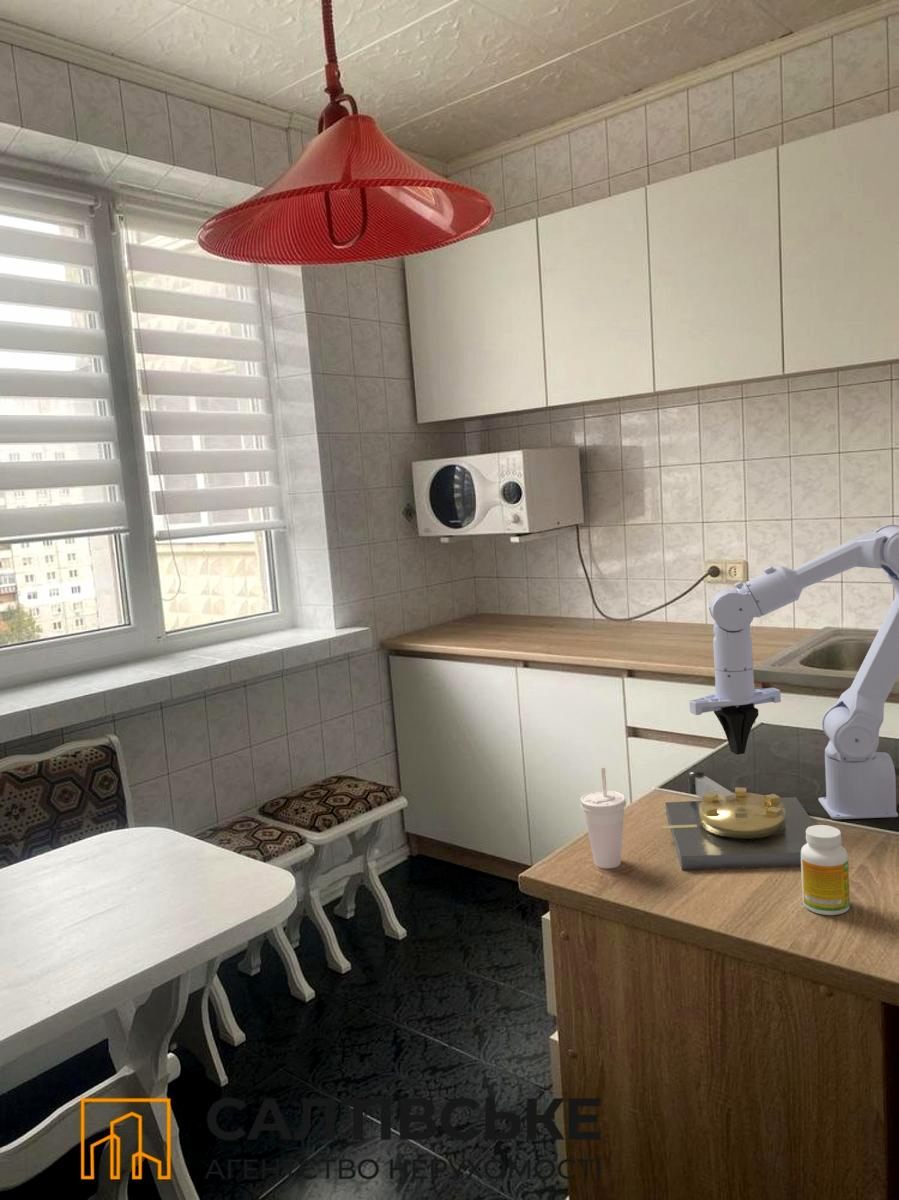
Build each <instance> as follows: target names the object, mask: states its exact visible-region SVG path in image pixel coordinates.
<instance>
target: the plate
mask: <svg viewBox="0 0 899 1200" xmlns="http://www.w3.org/2000/svg"><path fill="white" fill-rule="evenodd" d="M702 801H703V800H695V801H694V800H692V801H691V800H690V801H670V802H669V801H665V816H666V818H667V822H668V824H667V825H661V827H662V830H670V833H671V836H672V841H673V844H674V847H675V850H676V853H677V858H678V861H679V865H680V867H681V870H682V871H690V870H691V871H694V870H697V869H698V870H724V869H723V868H731V869H747V868H746V867H749V868H748V869H759V868H760V867H761V868H762V867H765V868H791V866H792V867H793V866H794V867H793V868H795V867H796V866H798V867H801V849H802V847H803V846H804V845H805V844H807V841H806V829H807V828H808V827H810V826H814V825H816V824H815V823H814V821H813V820H812V818H811V817H810V815H809V814H808V813H807V811H806V810H805V808H804V806H803V805H802V803H801V802H800V801H799V800H798V798H797V797H796V796H793V797H792V796H791V797H787V796H786V797H780V801H781V803H782V804H783V805H784V807H785V821H786V825H785V827H784V828H783V829H782V830H781V831H780V832H778V833H776V834H773V835H770V836H766V837H760V838H733V837H726V836H722V835H718V834H715V833H712V832H710V831H708V830H706V829H705V828H704V827H702V825H701V824H700V817H699V804H700V803H701V802H702ZM742 867H744V868H742ZM751 867H752V868H751ZM755 867H756V868H755ZM758 867H759V868H758ZM720 868H722V869H720ZM762 869H763V868H762Z"/></svg>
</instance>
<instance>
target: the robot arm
mask: <svg viewBox="0 0 899 1200" xmlns="http://www.w3.org/2000/svg"><path fill="white" fill-rule="evenodd" d="M856 567H857V568H860V567H861V568H870V569H882V570H883V571H884V572H885V573H886V574H887V576H888V579H889V580H890V582H891V584H892V586H893V589H894V591H895V593H896V595H895V597H894V599H893V600H892V603H891V605H890V607H889V609H888V611H887V613H886V615H885V617H884V619H883V621H882V623H881V625H880V627H879V629H878V631H877V633H876V635H875V637H874V639H873V641H872V643H871V645H870V647H869V649H868V651H867V653H866V654H865V655H866V656H865V657H864V659H863V662H862V663H861V664H860V667H859V669H858V671H857V673H856V676H855V677H854V679H853V681H852V683H851V685H850V687H848V688H847V689H846V690H844V692H842V693H841V694H840V696H839V698H838V700H837V702H836V703H835V704H834V705H832V706H830V707H829V708H828V709H827V710H826V711H825V713H824V714H823V716H822V720H821V727H822V731H823V733H824V735H825V736H826V738H828V739H829V741H828V744H827V746H826V747H825V748H824V766H825V767H824V768H825V792H826V794H825V795H826V796H825V797H818V802H819V803H820V805H821V806H822V807H823V809H824V810H825V811H826V813H827V814H828V815H829V816H830V818H831V819H832V820H850V819H851V820H855V819H875V818H876V819H877V818H878V819H879V818H897V817H899V813H898V812H897V783H896V782H897V781H896V769H895V765H894V761H893V759H892V757H891V755H890V753H888V752H884V751H883V752H881V751H880V752H879V751H877V749H878V747H879V745H880V744H879V743H880V729H881V727H882V724H883V723H884V716H885V715H884V714H885V713H884V711H885V703H886V700H887V699H888V697H889V695H890V694H891V691H892V689H893V687H894V685H895V683H896V681H897V679H898V677H899V525H897V524H885V525H884V526H881V527H879V528H878V529H876V530H875V531H874V530H870V531H868V532H864V533H862V534H860V535H857V536H856V537H853V538H851V539H849V540H848V541H845V542H843V543H841V544H840V545H837V546H836V547H834V548H831V549H830V550H828V551H825V552H824V553H822V554H820V555H818V556H816V557H814V558H812V559H810V560H808V561H807V562H804V563H803V564H801V565H799V566H796V567H794V568H793V569H792V568H788V567H786V566H783V565H779V566H777V567H775V568H774V567H773V566H772V565H769V566H767V567H765V568H764V569H763V571H764V573H762V574H761V575H758V576H755V577H754V578H751V579H748V580H747V581H745V582H741V581H737V582H736V583H734V586H735V589H730V588H727V589H723V590H720V591H719V592H717V593H716V594H714V597H712V600H711V603H710V606H709V607H708V610H709V613H710V616H711V617H712V619H713V620H714V622H713V629H712V632H713V635H714V637H713V639H712V644H713V645H712V647H713V663H714V665H713V666H714V667H713V668H714V683H715V684H714V685H715V693H712V694H708V695H706V696H702V697H699V698H696V699H691V700H689V701H688V703H689V713H691V714H693V715H695V716H698V715H702V714H703V713H711V712H713V713H714V714H715V716H716V717H717V720H718V722H719V723H720V726H721V727H722V729H723V731H724V734H725V736H726V739H727V742H728V746H729V750H730V753H733V754H735V755H743V754H746V748H747V743H748V740H749V737H750V736H749V735H750V733H751V730H752V727H753V726H754V723H755V722H756V720H757V719H758V717H759V708H756V707H755V705H762V704H767V703H781V701H782V700H781V699H782V698H781V690H780V689H778V688H775V687H768V688H755V680H754V661H753V660H754V658H753V655H754V653H753V639H752V637H751V624H752V623H753V620H754V618H761V617H763V616H766V615H768V614H770V613H772V612H775V611H777V610H778V609H781V608H783V607H786V606H787V605H790V604H792V603H794V602H797V601H798V600H799V599H800V596H801V594H802V592H803V590H804V589H805V588H807V587H810V586H812V585H814V584H817V583H819V582H821V581H823V580H826V579H829V578H831V577H834V576H836V575H838V574H841V573H845V572H846V571H848V570H851V569H853V568H856Z"/></svg>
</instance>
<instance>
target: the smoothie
mask: <svg viewBox="0 0 899 1200" xmlns="http://www.w3.org/2000/svg"><path fill="white" fill-rule="evenodd" d="M600 769H601V770H600V771H601V785H602V790H595V791H590V792H587V793H585V794H583V795H582V796H581V797H580V808H581V809H583V812H584V813H583V814H584V819H585V823H586V827H587V832H588V838H589V843H590V848H591V852H592V857H593V862H594V863H593V864H594V865H595V867H597V868H601V869H606V870H607V869H615V868H618V867H619V866H620V865H621V863H622V850H623V849H622V848H623V847H622V844H623V833H624V832H623V831H624V829H623V827H624V817H625V816H624V813H625V811H624V810H625V808H626V805H627V801H626V800H627V799H626V796H625V795H624V794H622V793H621V792H618V791H614V790H607V788H608V787H607V778H606V777H607V776H606V767H605V766H601V767H600Z"/></svg>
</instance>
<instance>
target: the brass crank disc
mask: <svg viewBox="0 0 899 1200" xmlns="http://www.w3.org/2000/svg"><path fill="white" fill-rule="evenodd" d="M687 778H688V779H687V780H688V793H689V794H691V795H695V796H697V797H699V798H700V799H702V800H701V801H702V802H701V803H700V804H699V817H700V824H701V825H702V827H704V828H705V829H706V830H708V831H710V832H712V833H715V834H718V835H722V836H726V837H733V838H760V837H766V836H770V835H773V834H776V833H778V832H780V831H781V830H782V829H783V828H784V827H785V825H786V821H785V807H784V805H783V804H782V803H781V801H780V798H781V796H779V795H778V794H775V793H771V794H765V795H764V794H759V793H753V792H747V787H735V788H734V791H735V792H732V791H731V790H729V789H727V788H725V787H724V786H722V785H721V784H719V783H718V782H716V781H714V780H713V779H711V778H709V777H708V776H706V773H705V770H704V769H701V768H692V769H689V770H688V771H687Z"/></svg>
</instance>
